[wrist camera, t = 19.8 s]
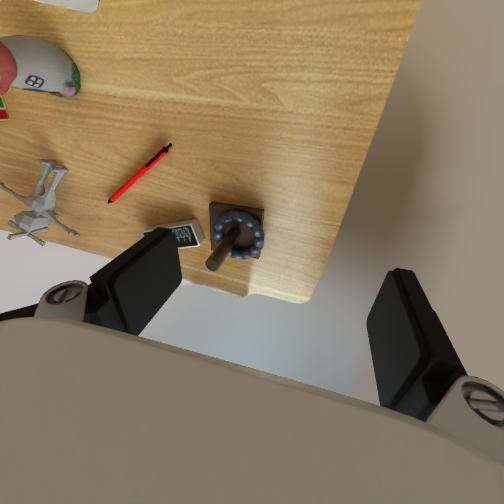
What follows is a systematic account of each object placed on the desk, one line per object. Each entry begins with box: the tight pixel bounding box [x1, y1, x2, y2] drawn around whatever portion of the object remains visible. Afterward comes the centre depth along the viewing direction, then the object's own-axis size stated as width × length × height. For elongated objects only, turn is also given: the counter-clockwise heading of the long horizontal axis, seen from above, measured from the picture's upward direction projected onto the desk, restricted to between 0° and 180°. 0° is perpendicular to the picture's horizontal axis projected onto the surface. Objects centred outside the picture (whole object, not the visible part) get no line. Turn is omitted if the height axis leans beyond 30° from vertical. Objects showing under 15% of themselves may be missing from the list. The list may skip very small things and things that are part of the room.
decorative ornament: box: [0, 35, 80, 97], centre depth 29 cm, size 9×6×15 cm
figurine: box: [0, 159, 80, 246], centre depth 46 cm, size 18×8×16 cm
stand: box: [206, 202, 264, 271], centre depth 37 cm, size 9×9×11 cm
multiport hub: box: [142, 219, 205, 249], centre depth 44 cm, size 4×11×2 cm, turn 106°
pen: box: [107, 143, 172, 204], centre depth 40 cm, size 1×19×1 cm, turn 125°
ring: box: [213, 210, 264, 260], centre depth 40 cm, size 9×9×2 cm
